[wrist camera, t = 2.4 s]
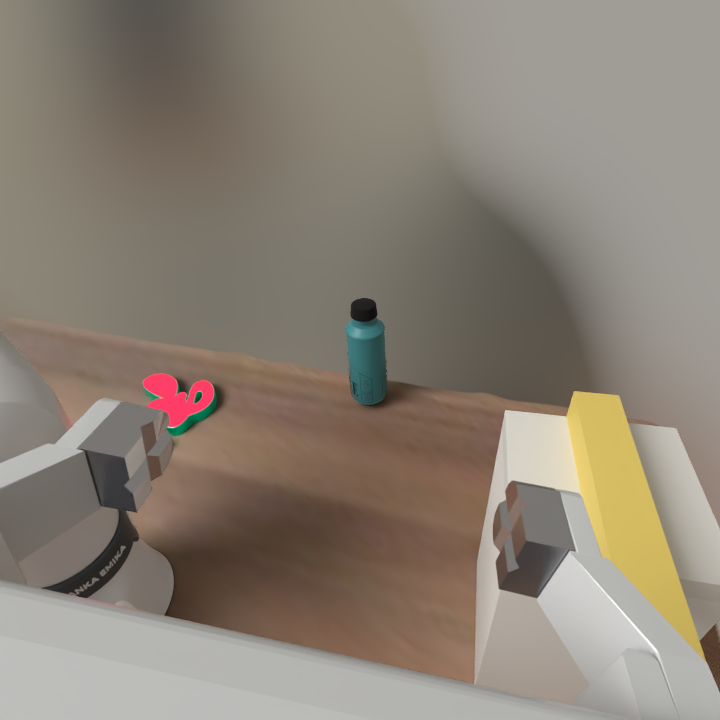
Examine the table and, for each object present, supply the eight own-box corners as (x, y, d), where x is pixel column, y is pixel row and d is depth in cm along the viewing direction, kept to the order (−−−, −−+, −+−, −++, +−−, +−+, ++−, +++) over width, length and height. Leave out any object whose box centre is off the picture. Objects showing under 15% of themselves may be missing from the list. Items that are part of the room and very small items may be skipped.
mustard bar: (695, 724, 24) (720, 703, 22) (620, 707, 24) (638, 686, 23) (609, 421, 41) (618, 395, 39) (566, 416, 41) (574, 391, 39)
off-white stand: (624, 724, 44) (746, 589, 29) (474, 690, 47) (510, 550, 32) (597, 582, 55) (675, 428, 40) (476, 561, 58) (505, 410, 42)
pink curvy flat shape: (155, 380, 92) (151, 371, 90) (229, 391, 88) (226, 381, 86) (84, 457, 76) (78, 447, 75) (170, 473, 73) (166, 463, 71)
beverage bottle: (395, 398, 83) (394, 301, 71) (369, 418, 79) (363, 319, 67) (369, 383, 87) (364, 288, 75) (343, 400, 83) (333, 304, 71)
